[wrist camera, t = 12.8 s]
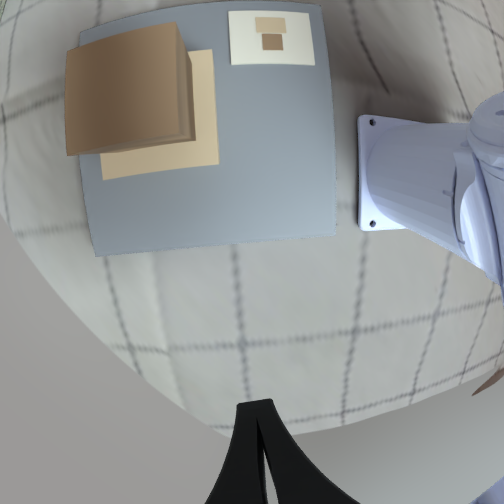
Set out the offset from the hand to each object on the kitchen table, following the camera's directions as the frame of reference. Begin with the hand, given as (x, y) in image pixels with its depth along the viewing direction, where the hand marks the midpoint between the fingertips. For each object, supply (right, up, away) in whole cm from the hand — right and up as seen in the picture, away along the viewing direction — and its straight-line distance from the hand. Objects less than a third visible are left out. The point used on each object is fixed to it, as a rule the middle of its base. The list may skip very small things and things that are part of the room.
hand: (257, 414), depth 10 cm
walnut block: (-5, +14, +1) cm, 15 cm away
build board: (-3, +15, +5) cm, 16 cm away
